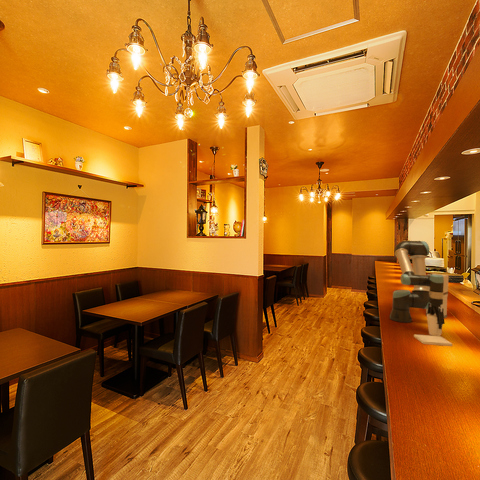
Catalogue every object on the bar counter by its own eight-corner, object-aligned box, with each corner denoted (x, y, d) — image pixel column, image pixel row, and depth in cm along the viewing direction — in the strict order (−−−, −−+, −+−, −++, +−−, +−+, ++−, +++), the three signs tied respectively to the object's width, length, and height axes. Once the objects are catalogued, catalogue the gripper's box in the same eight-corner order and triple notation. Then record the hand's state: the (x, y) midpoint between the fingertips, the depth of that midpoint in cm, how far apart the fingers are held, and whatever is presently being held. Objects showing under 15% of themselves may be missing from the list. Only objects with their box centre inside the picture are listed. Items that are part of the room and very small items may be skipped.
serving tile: (413, 336, 177) (413, 334, 177) (440, 338, 175) (440, 336, 175) (423, 343, 165) (423, 341, 165) (452, 346, 163) (452, 343, 163)
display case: (447, 317, 224) (448, 275, 223) (441, 319, 218) (443, 276, 217) (431, 313, 233) (432, 273, 233) (425, 315, 227) (427, 274, 227)
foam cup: (446, 338, 176) (447, 318, 176) (430, 336, 178) (431, 317, 178) (438, 332, 185) (439, 314, 185) (423, 331, 187) (424, 313, 187)
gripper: (421, 293, 193) (420, 325, 193) (439, 301, 171) (438, 336, 171) (433, 294, 191) (431, 325, 192) (452, 302, 170) (451, 337, 170)
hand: (434, 330), depth 182 cm, fingers closed on foam cup, 9 cm apart
